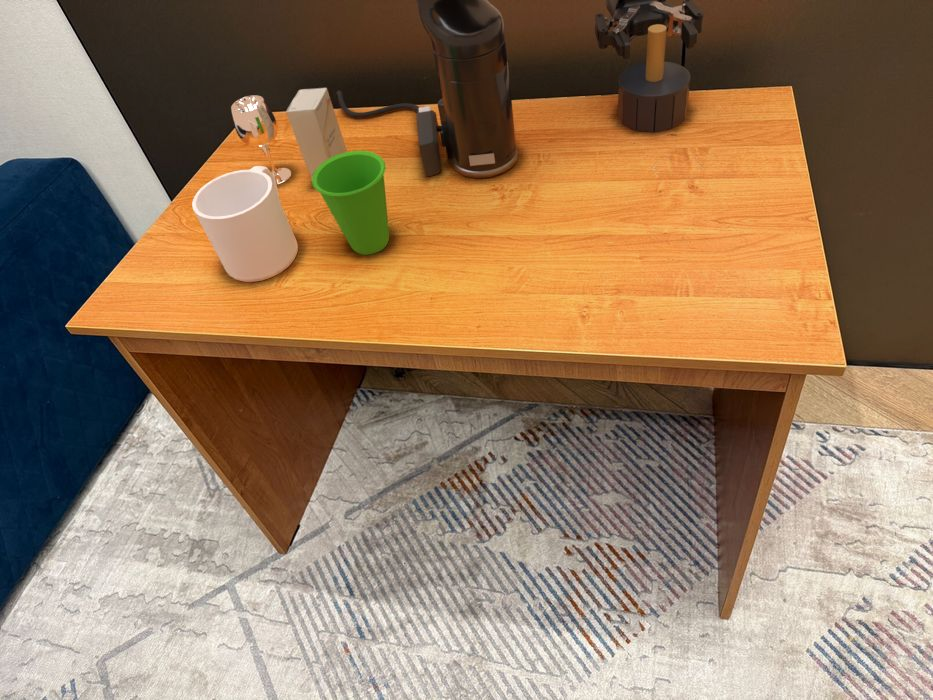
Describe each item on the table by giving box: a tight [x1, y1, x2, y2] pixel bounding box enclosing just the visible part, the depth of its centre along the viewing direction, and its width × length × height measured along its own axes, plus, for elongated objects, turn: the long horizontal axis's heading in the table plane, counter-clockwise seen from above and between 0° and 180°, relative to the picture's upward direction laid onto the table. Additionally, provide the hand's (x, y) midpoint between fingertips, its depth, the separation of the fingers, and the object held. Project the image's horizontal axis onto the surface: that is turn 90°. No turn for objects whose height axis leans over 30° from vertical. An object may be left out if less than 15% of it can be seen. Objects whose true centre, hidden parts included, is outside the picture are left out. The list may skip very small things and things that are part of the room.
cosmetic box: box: [285, 87, 348, 181], centre depth 99 cm, size 6×4×12 cm
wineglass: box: [230, 94, 292, 186], centre depth 101 cm, size 6×6×12 cm
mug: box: [191, 165, 299, 283], centre depth 90 cm, size 13×10×10 cm
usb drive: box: [416, 105, 442, 178], centre depth 102 cm, size 5×12×3 cm
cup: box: [311, 150, 390, 256], centre depth 87 cm, size 9×9×11 cm
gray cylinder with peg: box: [617, 24, 691, 133], centre depth 97 cm, size 10×10×13 cm
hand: (659, 46), depth 93 cm, fingers open, 8 cm apart
